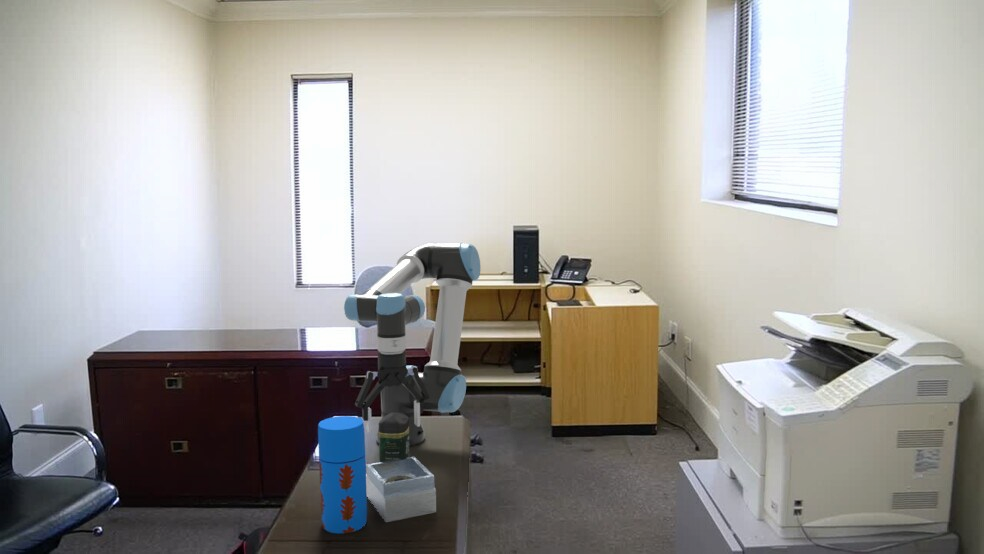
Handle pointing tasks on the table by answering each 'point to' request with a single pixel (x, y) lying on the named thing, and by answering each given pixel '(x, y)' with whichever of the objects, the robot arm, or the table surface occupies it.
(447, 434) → the table surface
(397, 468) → the open grey metal box
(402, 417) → the coffee jar
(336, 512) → the thermos
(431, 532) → the table surface
